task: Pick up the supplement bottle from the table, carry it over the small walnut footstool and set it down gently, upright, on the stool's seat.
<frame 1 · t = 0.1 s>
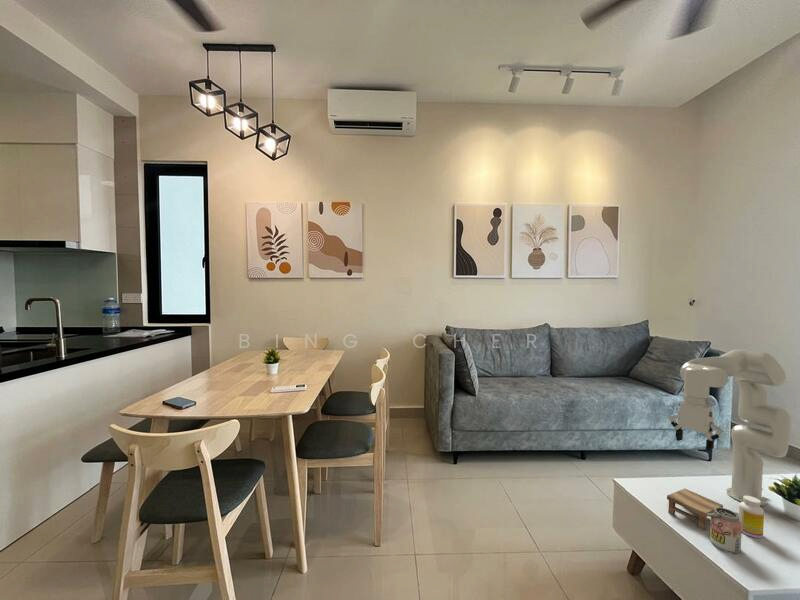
hand: (693, 444, 138), 31 cm above the table, fingers open, 9 cm apart
pink labeled can: (723, 545, 129), on the table
footstool: (693, 517, 144), on the table
supplement bottle: (750, 533, 136), on the table
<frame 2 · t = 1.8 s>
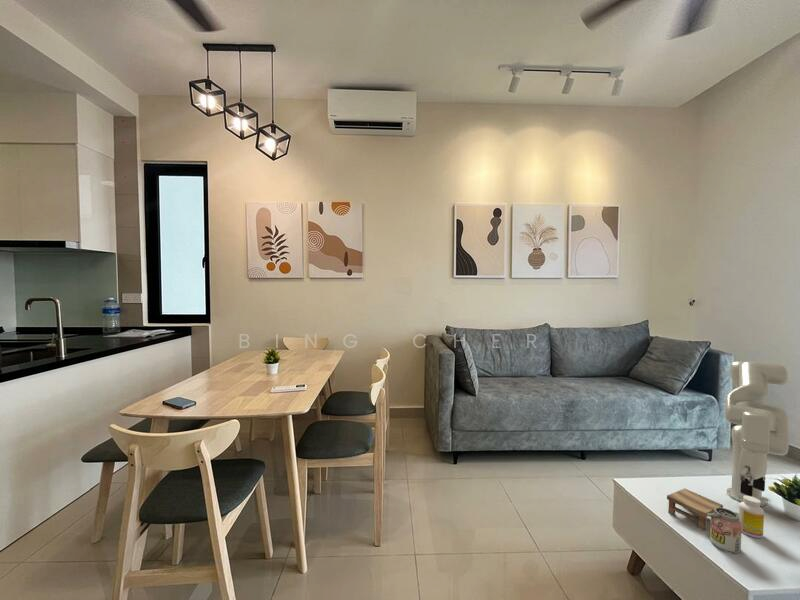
hand: (752, 491, 135), 16 cm above the table, fingers open, 9 cm apart
nothing on the table moved.
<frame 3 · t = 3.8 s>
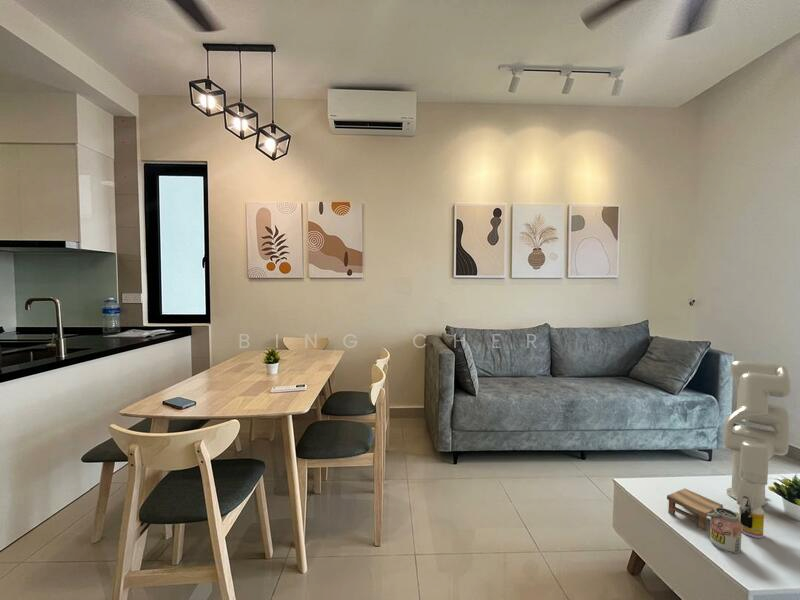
hand: (750, 523, 135), 4 cm above the table, fingers closed on supplement bottle, 6 cm apart
supplement bottle: (750, 533, 136), on the table, touching gripper
everything else where it was.
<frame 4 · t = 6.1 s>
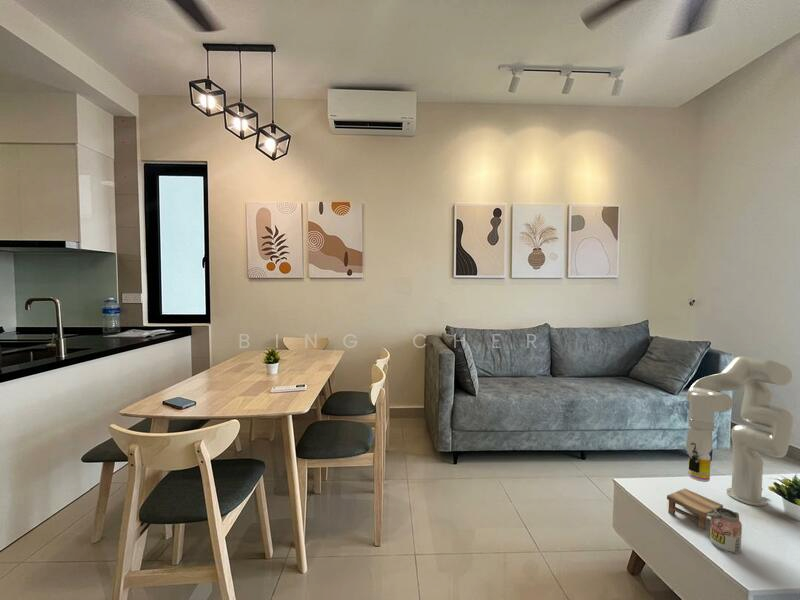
hand: (698, 468, 143), 20 cm above the table, fingers closed on supplement bottle, 6 cm apart
supplement bottle: (698, 478, 143), point 16 cm above the table, touching gripper
everything else where it was.
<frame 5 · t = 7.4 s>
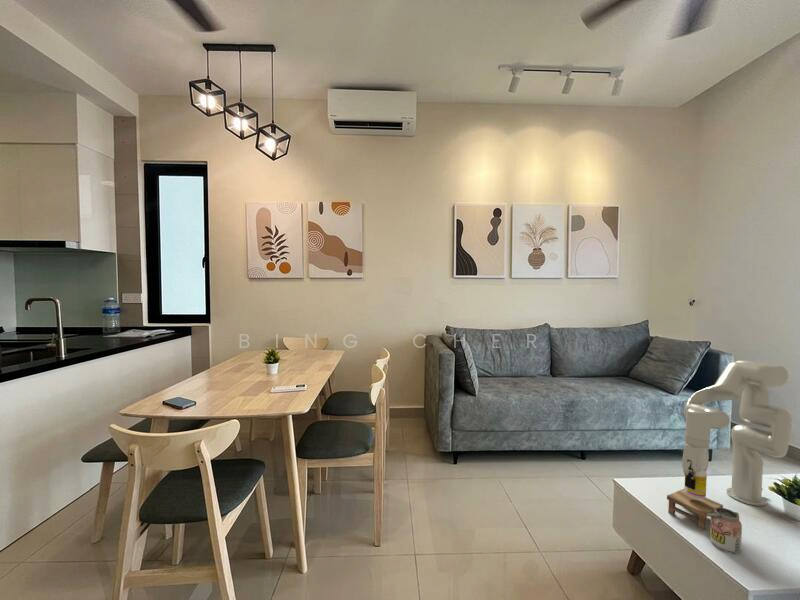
hand: (695, 485, 144), 13 cm above the table, fingers closed on supplement bottle, 6 cm apart
supplement bottle: (694, 495, 144), point 9 cm above the table, touching gripper
everything else where it was.
when the fingers open (12 cm above the table, at t = 8.5 s): supplement bottle drops 1 cm, resting on footstool.
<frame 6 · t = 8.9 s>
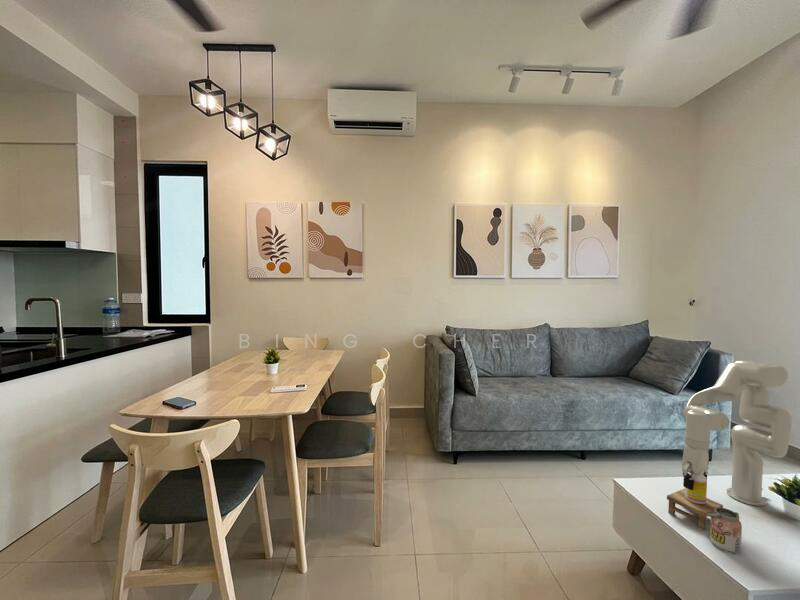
hand: (695, 485, 144), 13 cm above the table, fingers open, 9 cm apart
supplement bottle: (695, 500, 144), point 7 cm above the table, touching footstool
everything else where it was.
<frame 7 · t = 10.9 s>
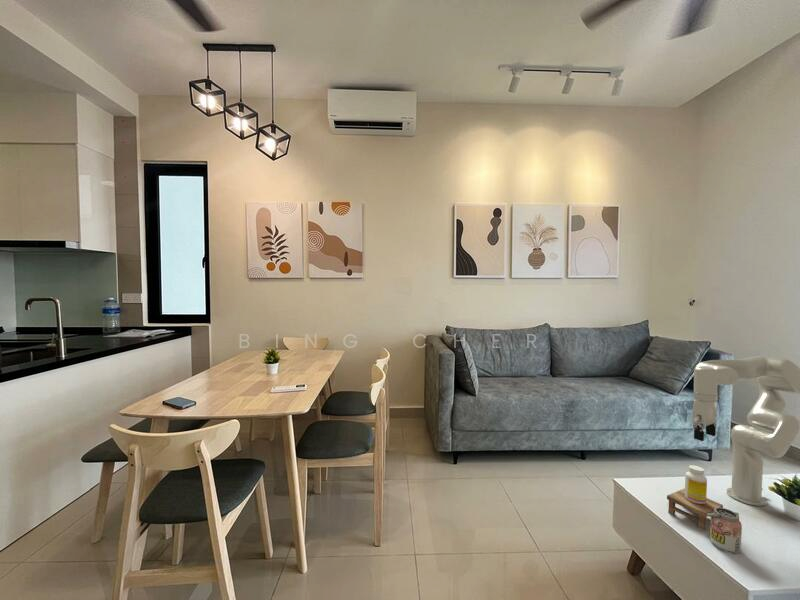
hand: (704, 437, 151), 29 cm above the table, fingers open, 9 cm apart
nothing on the table moved.
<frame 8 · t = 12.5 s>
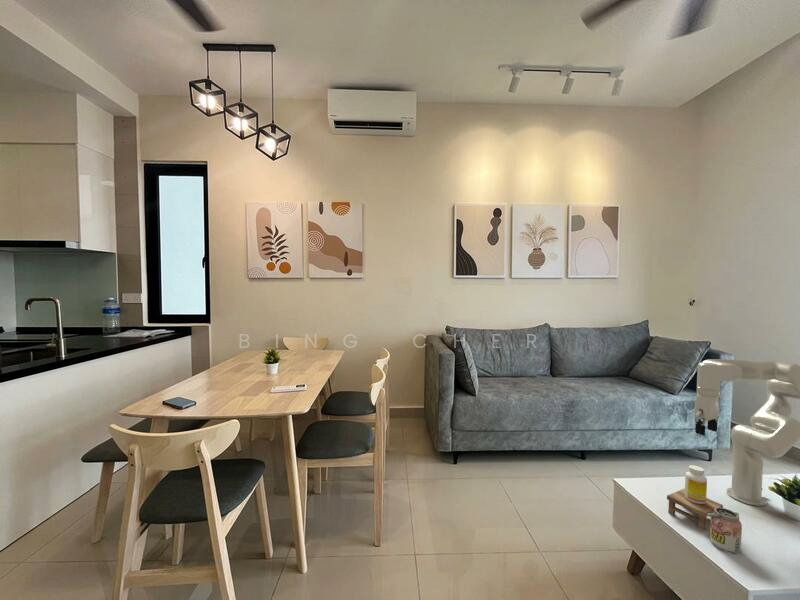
hand: (706, 432, 154), 30 cm above the table, fingers open, 9 cm apart
nothing on the table moved.
at the end: supplement bottle inside the target area on the footstool (0.4 cm from its centre), point 6.8 cm above the footstool's base; supplement bottle tilted 0°; the gripper is holding nothing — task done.
